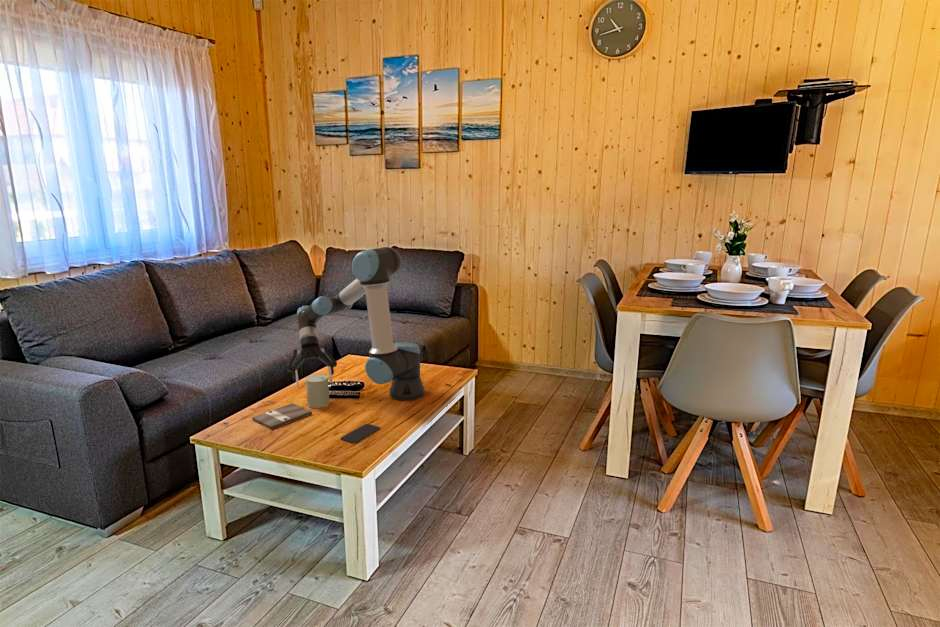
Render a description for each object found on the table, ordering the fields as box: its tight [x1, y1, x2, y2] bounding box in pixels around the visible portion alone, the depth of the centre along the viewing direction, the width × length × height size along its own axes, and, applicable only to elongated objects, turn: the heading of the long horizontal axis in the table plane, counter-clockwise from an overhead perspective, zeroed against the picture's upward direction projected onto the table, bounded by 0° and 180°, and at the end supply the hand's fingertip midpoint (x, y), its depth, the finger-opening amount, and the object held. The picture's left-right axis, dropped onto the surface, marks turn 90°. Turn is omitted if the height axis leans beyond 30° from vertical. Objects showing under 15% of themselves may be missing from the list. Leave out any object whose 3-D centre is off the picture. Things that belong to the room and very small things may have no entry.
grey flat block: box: [251, 402, 313, 430], centre depth 219 cm, size 13×18×2 cm
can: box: [304, 373, 331, 409], centre depth 230 cm, size 9×9×12 cm
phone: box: [340, 423, 381, 444], centre depth 205 cm, size 7×1×15 cm
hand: (314, 383), depth 232 cm, fingers open, 13 cm apart
